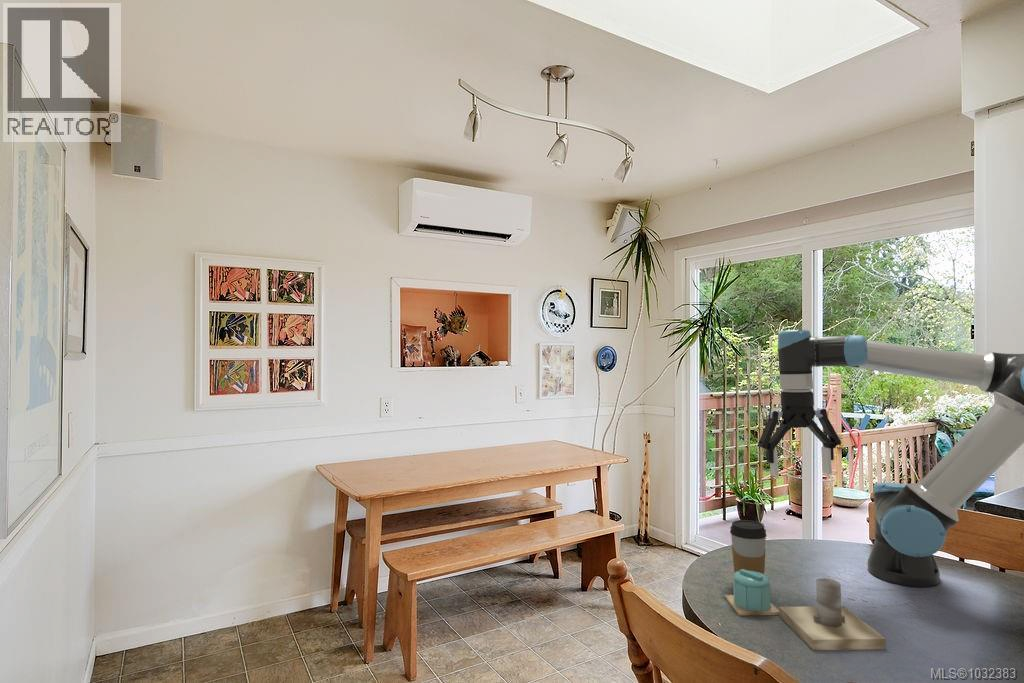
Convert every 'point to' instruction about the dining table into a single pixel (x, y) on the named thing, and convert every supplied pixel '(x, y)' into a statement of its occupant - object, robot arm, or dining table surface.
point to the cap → (751, 590)
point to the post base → (830, 634)
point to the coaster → (742, 611)
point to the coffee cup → (748, 545)
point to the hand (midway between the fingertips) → (800, 474)
